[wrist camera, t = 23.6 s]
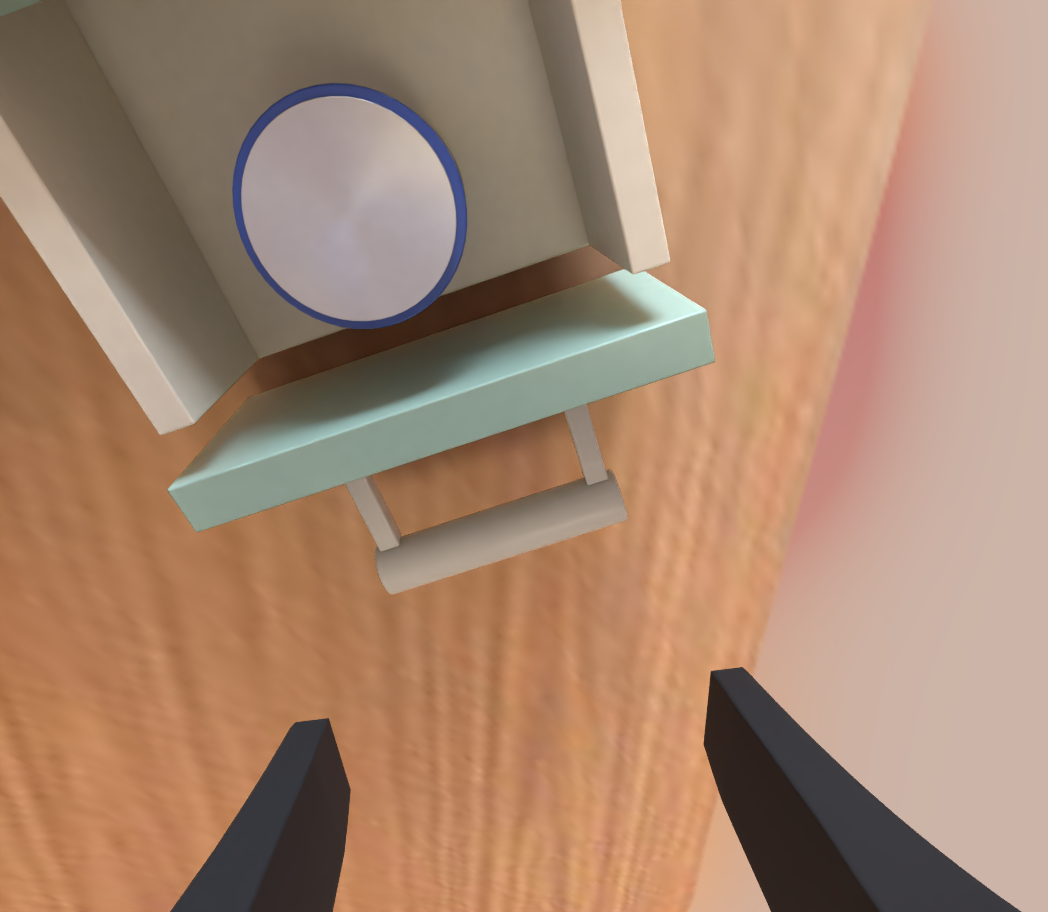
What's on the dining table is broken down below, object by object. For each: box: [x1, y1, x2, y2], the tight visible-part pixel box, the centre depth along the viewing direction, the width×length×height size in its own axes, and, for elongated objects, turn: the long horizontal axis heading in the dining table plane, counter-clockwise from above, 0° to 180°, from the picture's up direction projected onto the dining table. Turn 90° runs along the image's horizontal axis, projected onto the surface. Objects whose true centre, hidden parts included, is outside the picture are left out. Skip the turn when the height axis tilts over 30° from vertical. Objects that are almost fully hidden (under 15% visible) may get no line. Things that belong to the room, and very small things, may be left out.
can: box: [232, 83, 467, 329], centre depth 13 cm, size 4×4×4 cm
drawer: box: [0, 0, 715, 594], centre depth 14 cm, size 18×12×6 cm, turn 18°
